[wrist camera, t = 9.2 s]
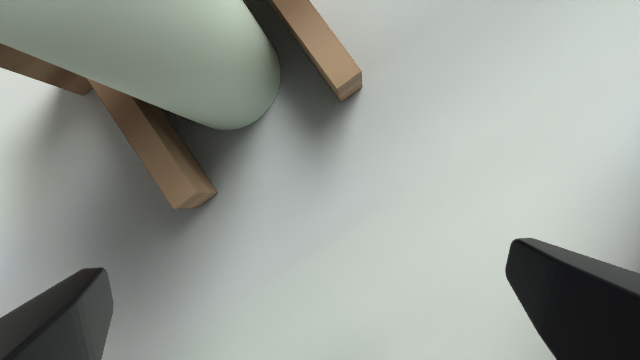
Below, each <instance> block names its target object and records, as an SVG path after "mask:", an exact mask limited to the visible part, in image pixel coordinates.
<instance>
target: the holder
mask: <svg viewBox="0 0 640 360" xmlns="http://www.w3.org/2000/svg"><path fill="white" fill-rule="evenodd" d="M267 1H268V3H269V4H270V5H271V7H272V8H273V10H274V11H275V12H276V14H277V15H278V16H279V18H280V19H281V21H282V22H283V23H284V25H285V26H286V27H287V29H288V30H289V31H290V33H291V34H292V36H293V37H294V38H295V40H296V41H297V42H298V44H299V45H300V47H301V48H302V49H303V51H304V52H305V53H306V55H307V56H308V58H309V59H310V60H311V62H312V63H313V64H314V66H315V67H316V69H317V70H318V71H319V73H320V74H321V75H322V77H323V78H324V79H325V81H326V82H327V84H328V85H329V86H330V88H331V89H332V90H333V92H334V93H335V95H336V96H337V97H338V99H339V100H340V101H341V102H342V101H344V100H345V99H346V98H348V97H349V96H350V95H352V94H353V93H354V92H356V91H357V90H359V89H360V88H361V87H362V73H361V70H360V68H359V67H358V66H357V64H356V63H355V62H354V60H353V59H352V57H351V56H350V55H349V53H348V52H347V51H346V49H345V48H344V47H343V45H342V44H341V43H340V41H339V40H338V39H337V37H336V36H335V35H334V33H333V32H332V31H331V29H330V28H329V26H328V25H327V24H326V22H325V21H324V20H323V18H322V17H321V16H320V14H319V13H318V12H317V10H316V9H315V8H314V6H313V5H312V4H311V2H310V1H309V0H267ZM0 67H1V68H4V69H7V70H10V71H13V72H16V73H19V74H22V75H25V76H27V77H30V78H33V79H36V80H39V81H42V82H45V83H48V84H51V85H54V86H57V87H60V88H63V89H65V90H68V91H71V92H74V93H77V94H80V95H84V94H86V93H87V92H88V91H89V90H91V89H92V88H93V89H94V90H95V92H96V93H97V95H98V96H99V98H100V99H101V101H102V102H103V104H104V105H105V107H106V108H107V110H108V111H109V113H110V114H111V116H112V117H113V119H114V120H115V122H116V123H117V125H118V126H119V128H120V129H121V131H122V132H123V134H124V135H125V137H126V139H127V140H128V142H129V143H130V145H131V146H132V148H133V149H134V151H135V152H136V154H137V155H138V157H139V158H140V160H141V161H142V163H143V164H144V166H145V167H146V169H147V170H148V172H149V173H150V175H151V176H152V178H153V179H154V181H155V182H156V184H157V185H158V187H159V188H160V190H161V191H162V193H163V194H164V196H165V197H166V199H167V201H168V202H169V204H170V205H171V207H172V208H173V209H183V208H196V207H199V206H200V205H202V204H203V203H204V202H206V201H207V200H209V199H210V198H211V197H213V196H214V195H215V194H217V193H218V192H217V191H216V189H215V188H214V186H213V185H212V184H211V182H210V181H209V179H208V178H207V176H206V175H205V173H204V172H203V170H202V169H201V167H200V166H199V164H198V163H197V161H196V160H195V158H194V157H193V155H192V154H191V153H190V151H189V150H188V148H187V147H186V145H185V144H184V142H183V141H182V139H181V138H180V136H179V135H178V133H177V132H176V130H175V129H174V127H173V126H172V124H171V123H170V121H169V120H168V119H167V117H166V116H165V114H164V113H163V111H162V110H161V108H160V107H157V106H155V105H153V104H150V103H148V102H145V101H143V100H140V99H138V98H135V97H133V96H130V95H128V94H125V93H123V92H120V91H118V90H115V89H113V88H110V87H108V86H106V85H103V84H101V83H98V82H96V81H93V80H91V79H88V78H86V77H83V76H81V75H78V74H76V73H73V72H71V71H68V70H66V69H63V68H61V67H59V66H56V65H54V64H51V63H49V62H46V61H44V60H41V59H39V58H36V57H34V56H31V55H29V54H26V53H24V52H21V51H19V50H16V49H14V48H12V47H9V46H7V45H4V44H2V43H0Z"/></svg>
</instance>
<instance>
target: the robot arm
mask: <svg viewBox="0 0 640 360" xmlns="http://www.w3.org/2000/svg"><path fill="white" fill-rule="evenodd" d="M505 271H506V277H507V280H508V281H509V283H510V285H511V287H512V288H513V290H514V292H515V294H516V295H517V297H518V299H519V301H520V302H521V304H522V306H523V308H524V309H525V311H526V313H527V315H528V316H529V318H530V320H531V322H532V323H533V325H534V327H535V328H536V330H537V332H538V333H539V335H540V336H541V338H542V339H543V341H544V342H545V344H546V345H547V347H548V348H549V349H550V351H551V352H552V354H553V355H554V357H555V358H556V359H557V360H640V274H639V273H636V272H633V271H630V270H627V269H624V268H621V267H618V266H615V265H612V264H609V263H606V262H603V261H600V260H597V259H594V258H591V257H588V256H585V255H582V254H579V253H576V252H573V251H570V250H567V249H564V248H561V247H558V246H555V245H552V244H549V243H546V242H542V241H539V240H536V239H533V238H519V239H515V240H513V241H512V243H511V246H510V250H509V255H508V259H507V264H506V269H505ZM112 313H113V299H112V293H111V288H110V283H109V278H108V273H107V271H106V270H105V269H104V268H101V267H100V268H85V269H82V270H80V271H78V272H76V273H75V274H73V275H71V276H70V277H68V278H66V279H65V280H63V281H61V282H60V283H58V284H56V285H55V286H53V287H51V288H50V289H48V290H46V291H45V292H43V293H41V294H40V295H38V296H36V297H35V298H33V299H31V300H29V301H28V302H26V303H24V304H23V305H21V306H19V307H18V308H16V309H14V310H13V311H11V312H9V313H8V314H6V315H4V316H3V317H1V318H0V360H101V358H102V354H103V350H104V346H105V342H106V338H107V334H108V330H109V326H110V322H111V317H112Z"/></svg>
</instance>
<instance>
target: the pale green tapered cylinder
mask: <svg viewBox="0 0 640 360" xmlns="http://www.w3.org/2000/svg"><path fill="white" fill-rule="evenodd" d="M0 43H2V44H4V45H7V46H9V47H12V48H14V49H16V50H19V51H21V52H24V53H26V54H29V55H31V56H34V57H36V58H39V59H41V60H44V61H46V62H49V63H51V64H54V65H56V66H59V67H61V68H63V69H66V70H68V71H71V72H73V73H76V74H78V75H81V76H83V77H86V78H88V79H91V80H93V81H96V82H98V83H101V84H103V85H106V86H108V87H110V88H113V89H115V90H118V91H120V92H123V93H125V94H128V95H130V96H133V97H135V98H138V99H140V100H143V101H145V102H148V103H150V104H153V105H155V106H157V107H160V108H162V109H165V110H167V111H170V112H172V113H175V114H177V115H180V116H182V117H185V118H187V119H190V120H192V121H195V122H197V123H200V124H202V125H204V126H207V127H210V128H213V129H217V130H234V129H239V128H242V127H245V126H248V125H250V124H252V123H253V122H255V121H256V120H258V119H259V118H260V117H261V116H263V115H264V114H265V112H266V111H267V110H268V109H269V108H270V106H271V105H272V103H273V101H274V100H275V98H276V95H277V92H278V89H279V85H280V78H281V70H280V63H279V59H278V56H277V53H276V51H275V49H274V47H273V46H272V44H271V43H270V41H269V40H268V38H267V37H266V35H265V34H264V32H263V31H262V29H261V28H260V26H259V25H258V23H257V22H256V20H255V19H254V17H253V16H252V14H251V13H250V11H249V10H248V8H247V7H246V5H245V4H244V2H243V1H242V0H0Z"/></svg>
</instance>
